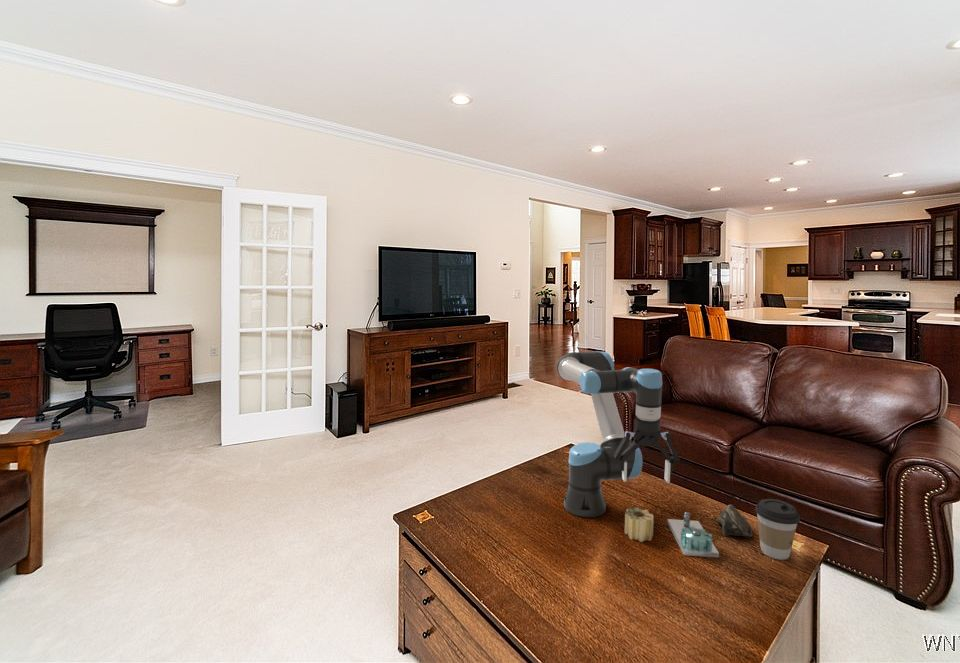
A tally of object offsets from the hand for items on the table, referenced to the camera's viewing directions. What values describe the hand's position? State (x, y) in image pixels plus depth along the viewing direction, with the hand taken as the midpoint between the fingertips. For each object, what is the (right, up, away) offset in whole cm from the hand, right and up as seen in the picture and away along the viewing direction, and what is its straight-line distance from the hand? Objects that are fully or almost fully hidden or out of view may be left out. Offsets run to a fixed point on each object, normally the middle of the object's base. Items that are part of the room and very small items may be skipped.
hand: (645, 480), depth 141 cm
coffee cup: (+36, -19, -9) cm, 42 cm away
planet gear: (-1, -19, +2) cm, 19 cm away
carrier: (+14, -19, -1) cm, 24 cm away
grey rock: (+31, -18, +3) cm, 36 cm away
